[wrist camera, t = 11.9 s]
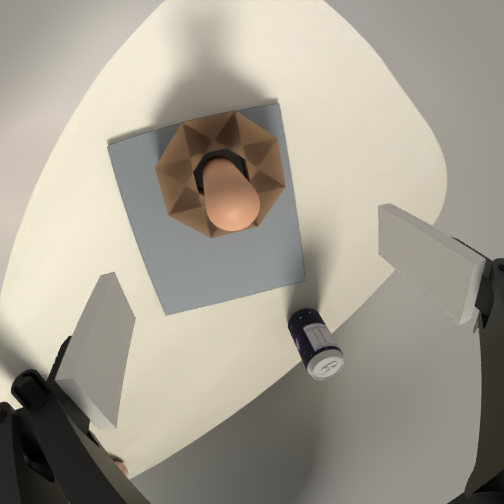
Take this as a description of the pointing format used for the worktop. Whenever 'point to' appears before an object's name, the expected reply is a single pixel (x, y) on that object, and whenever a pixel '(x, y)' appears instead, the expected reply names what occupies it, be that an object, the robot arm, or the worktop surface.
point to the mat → (197, 244)
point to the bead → (211, 139)
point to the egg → (122, 468)
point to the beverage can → (315, 344)
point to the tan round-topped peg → (228, 195)
